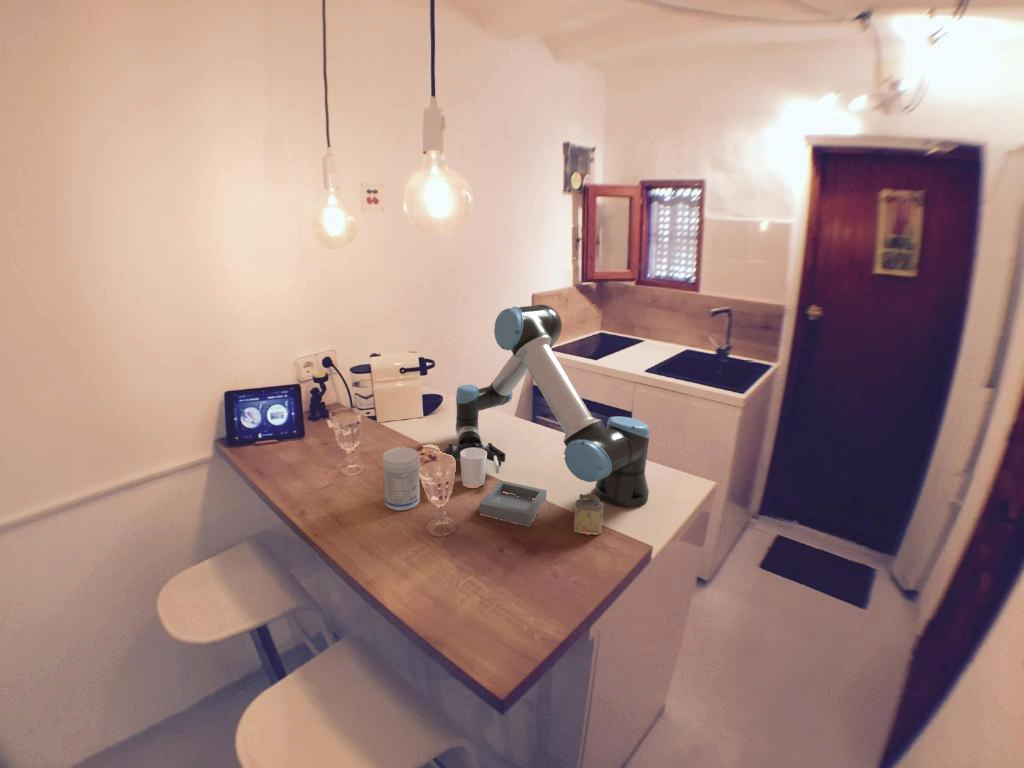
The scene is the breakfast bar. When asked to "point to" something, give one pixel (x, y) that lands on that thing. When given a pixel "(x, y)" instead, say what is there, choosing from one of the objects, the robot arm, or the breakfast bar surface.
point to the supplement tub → (401, 478)
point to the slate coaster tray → (513, 502)
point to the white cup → (473, 466)
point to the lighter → (588, 514)
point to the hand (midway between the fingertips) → (474, 470)
